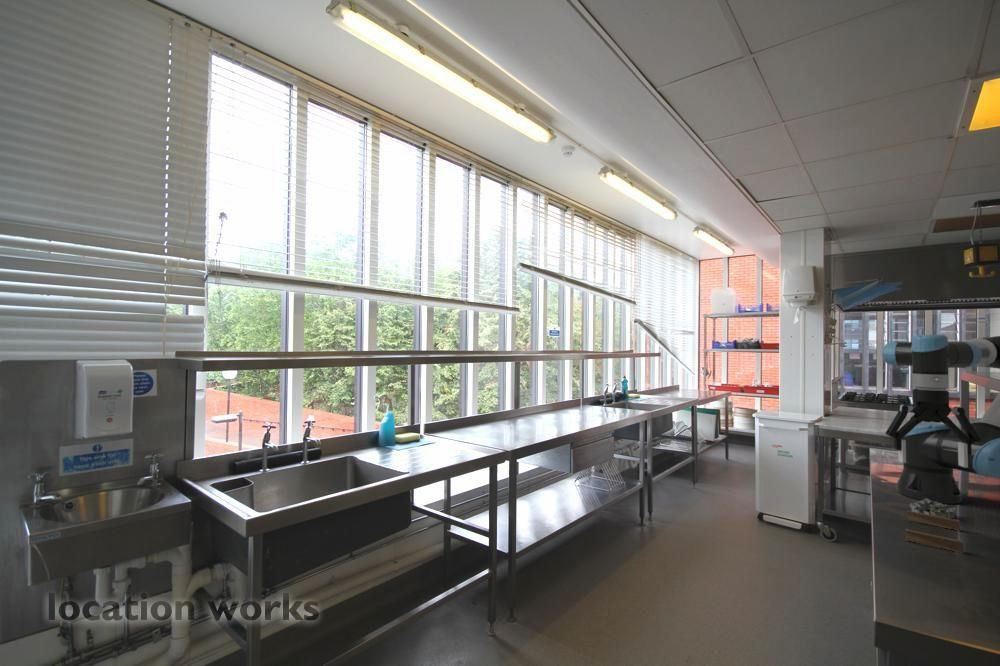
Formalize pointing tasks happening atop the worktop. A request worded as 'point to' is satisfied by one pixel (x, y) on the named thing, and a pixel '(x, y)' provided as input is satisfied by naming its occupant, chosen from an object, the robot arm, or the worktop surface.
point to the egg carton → (933, 508)
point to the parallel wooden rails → (933, 539)
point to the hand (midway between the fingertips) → (932, 464)
